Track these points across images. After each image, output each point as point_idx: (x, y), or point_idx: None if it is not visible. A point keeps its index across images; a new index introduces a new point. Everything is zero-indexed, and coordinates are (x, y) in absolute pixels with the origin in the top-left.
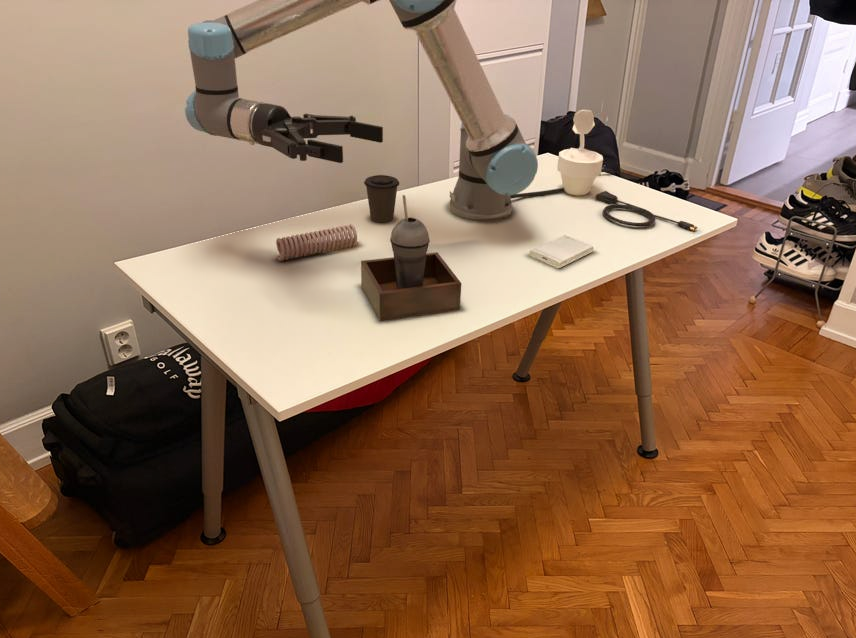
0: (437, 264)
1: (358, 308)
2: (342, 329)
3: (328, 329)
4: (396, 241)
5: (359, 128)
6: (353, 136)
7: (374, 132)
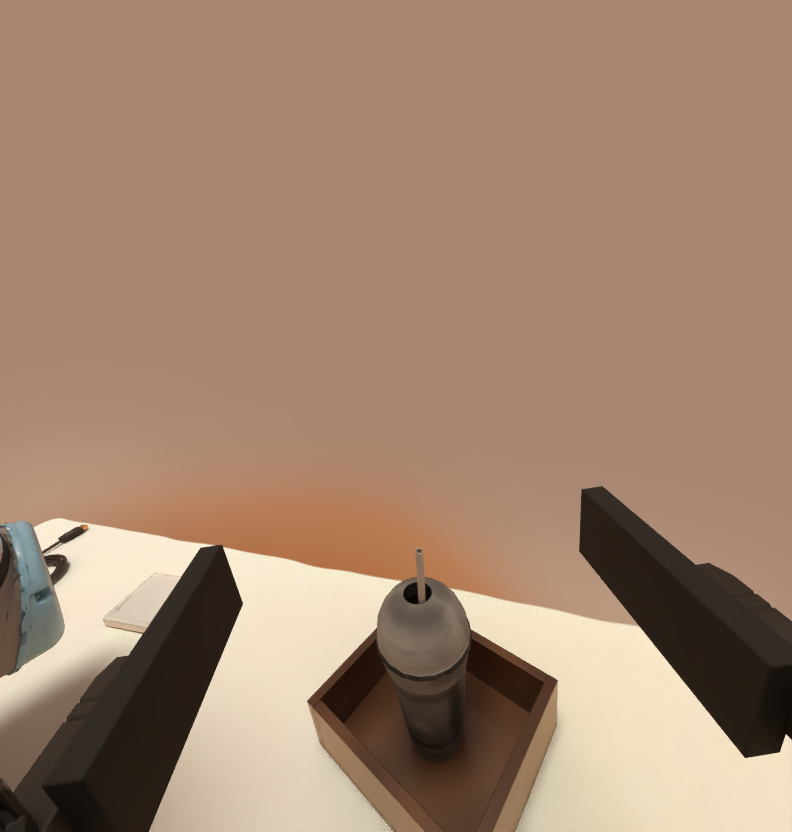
0: (338, 693)
1: (567, 821)
2: (659, 778)
3: (699, 814)
4: (467, 631)
5: (159, 695)
6: (155, 807)
7: (215, 597)
